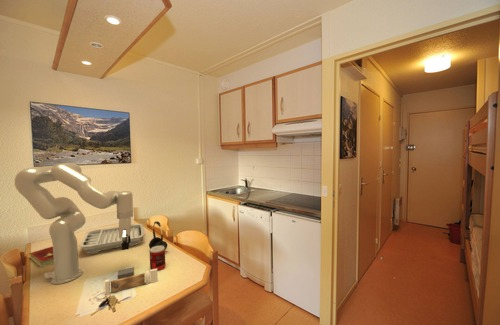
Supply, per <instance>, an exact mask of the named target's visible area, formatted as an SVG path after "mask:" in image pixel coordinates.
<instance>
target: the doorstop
mask: <svg viewBox="0 0 500 325" xmlns="http://www.w3.org/2000/svg"><path fill="white" fill-rule="evenodd" d="M134 275H135V267H134V266H132V267H128V268H124V269H120V270H117V279H122V278H126V277H130V276H134Z"/></svg>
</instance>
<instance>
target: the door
mask: <svg viewBox="0 0 500 325" xmlns="http://www.w3.org/2000/svg"><path fill="white" fill-rule="evenodd" d="M143 285H146V279H145V272H144V273H140V274H139V273H138V274H136V275H135V274H134V276H130V277H126V278H122V279H118V278H117V279H113V280H110V293H114V292H119V291H123V290H127V289H131V288H133V287H138V286H143Z"/></svg>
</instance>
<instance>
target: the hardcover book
mask: <svg viewBox="0 0 500 325" xmlns="http://www.w3.org/2000/svg"><path fill="white" fill-rule="evenodd" d="M28 254H29V255H30V260H32V262H34V263H35V264H36V265H37V266H38V267H40V268H45V267H48V266H50V265H54V255H53V245H52V246H50V247H46V248H42V249H39V250H36V251H32V252H29V253H28Z"/></svg>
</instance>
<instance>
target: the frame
mask: <svg viewBox="0 0 500 325" xmlns="http://www.w3.org/2000/svg"><path fill="white" fill-rule="evenodd" d="M144 273H145V285H149V284H152V283H157V282H158V279H159V278H158V271H157V269H152V270H151V269H150V270H149V269H147V270H145V271H144ZM110 282H111V279H110V278H108V279H105V281H104V290H105V291H104V292H105V296H107V295H110V294H111V283H110ZM109 293H110V294H109ZM106 294H107V295H106Z"/></svg>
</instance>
